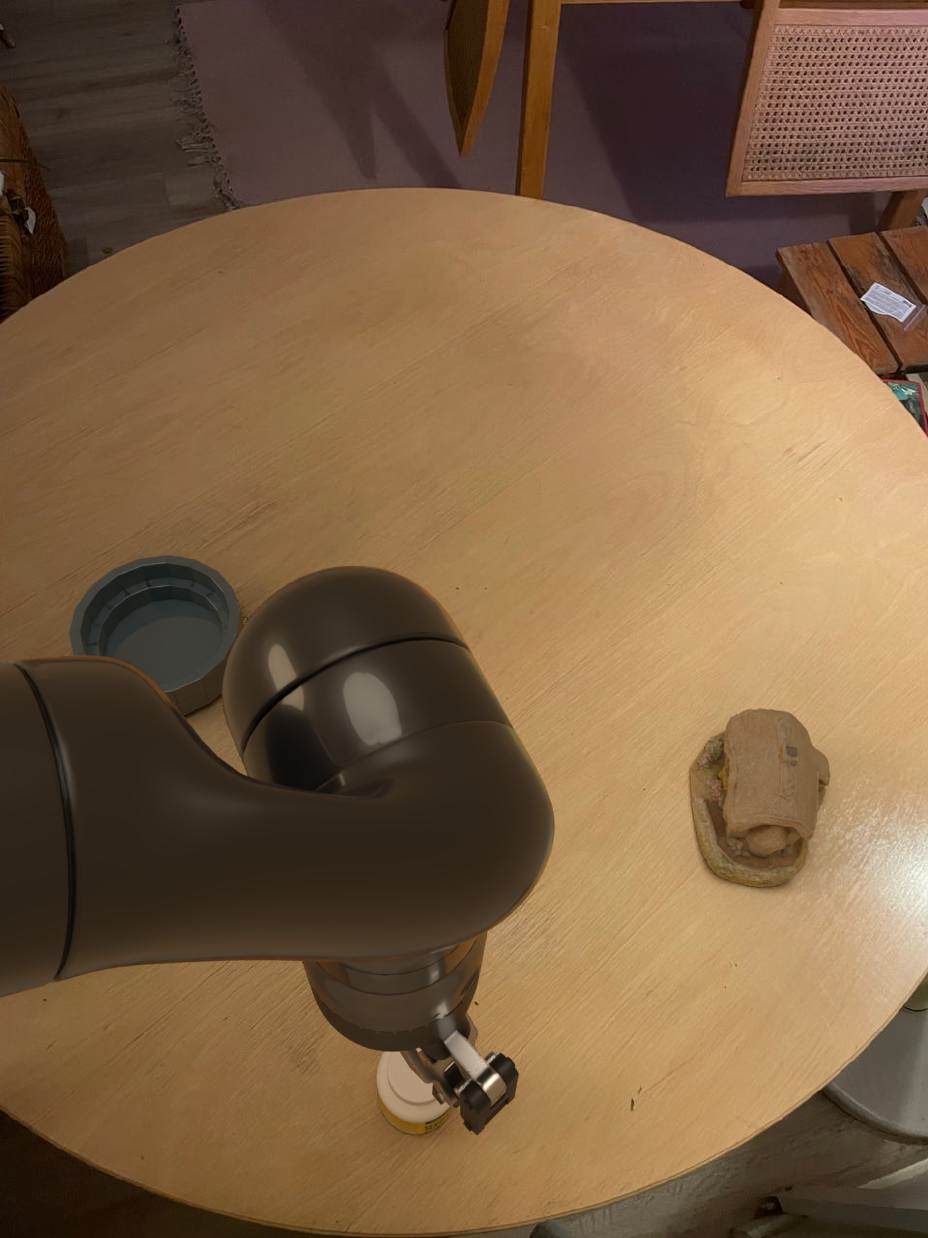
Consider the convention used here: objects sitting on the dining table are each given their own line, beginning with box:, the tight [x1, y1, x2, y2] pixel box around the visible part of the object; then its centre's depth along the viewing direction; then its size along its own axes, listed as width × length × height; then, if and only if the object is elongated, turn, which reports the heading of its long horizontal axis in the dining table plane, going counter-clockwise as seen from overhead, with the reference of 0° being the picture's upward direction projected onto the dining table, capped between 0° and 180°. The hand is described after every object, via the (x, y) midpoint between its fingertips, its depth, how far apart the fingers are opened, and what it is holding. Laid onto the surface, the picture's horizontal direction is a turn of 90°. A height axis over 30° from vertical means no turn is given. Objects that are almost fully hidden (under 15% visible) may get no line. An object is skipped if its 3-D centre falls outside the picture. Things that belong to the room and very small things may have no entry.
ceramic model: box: [689, 708, 832, 888], centre depth 81 cm, size 14×11×10 cm
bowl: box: [68, 554, 245, 716], centre depth 89 cm, size 14×14×5 cm
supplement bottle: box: [375, 1048, 454, 1137], centre depth 68 cm, size 5×5×10 cm
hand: (398, 1022), depth 55 cm, fingers open, 8 cm apart
